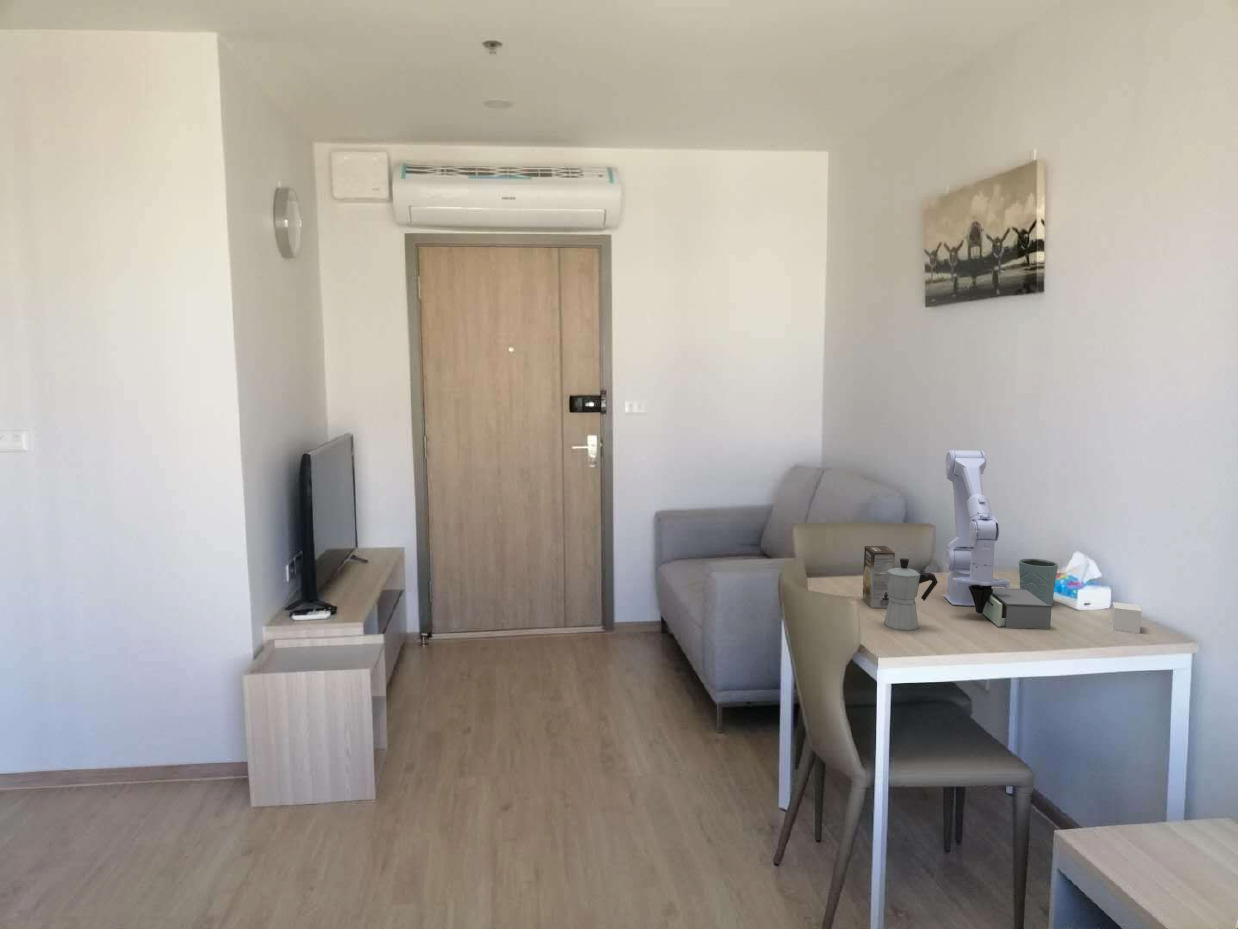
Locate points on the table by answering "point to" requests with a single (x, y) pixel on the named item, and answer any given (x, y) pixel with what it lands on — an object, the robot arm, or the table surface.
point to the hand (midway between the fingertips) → (979, 612)
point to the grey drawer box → (1024, 608)
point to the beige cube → (1126, 617)
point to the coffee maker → (904, 595)
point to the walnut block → (1003, 609)
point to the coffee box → (876, 575)
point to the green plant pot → (1038, 577)
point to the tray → (994, 611)
